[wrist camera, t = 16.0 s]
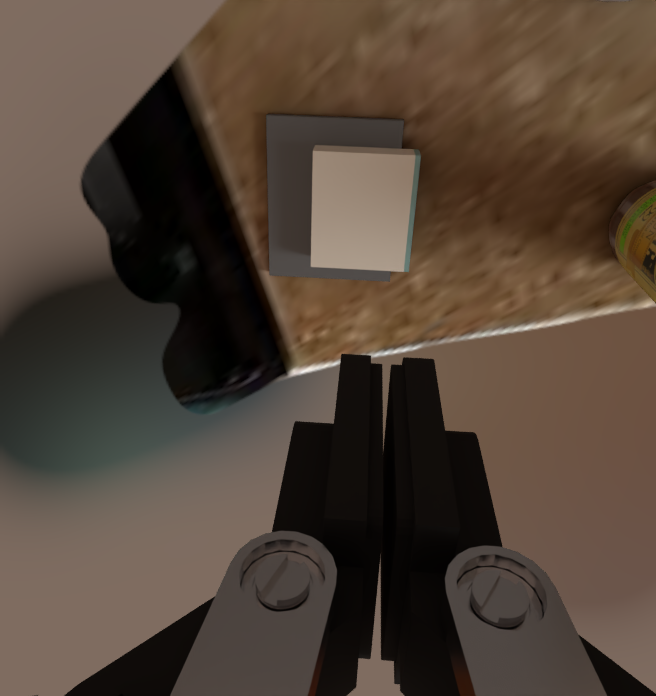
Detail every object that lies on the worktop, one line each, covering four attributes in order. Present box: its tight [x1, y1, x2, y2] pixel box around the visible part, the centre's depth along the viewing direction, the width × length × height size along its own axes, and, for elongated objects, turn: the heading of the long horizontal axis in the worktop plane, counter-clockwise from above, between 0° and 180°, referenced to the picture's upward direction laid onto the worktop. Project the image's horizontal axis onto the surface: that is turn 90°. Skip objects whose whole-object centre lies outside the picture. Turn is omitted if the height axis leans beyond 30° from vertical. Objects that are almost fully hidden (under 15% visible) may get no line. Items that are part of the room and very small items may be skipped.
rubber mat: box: [266, 114, 404, 282], centre depth 37 cm, size 8×10×1 cm
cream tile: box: [311, 145, 421, 272], centre depth 35 cm, size 7×2×6 cm
